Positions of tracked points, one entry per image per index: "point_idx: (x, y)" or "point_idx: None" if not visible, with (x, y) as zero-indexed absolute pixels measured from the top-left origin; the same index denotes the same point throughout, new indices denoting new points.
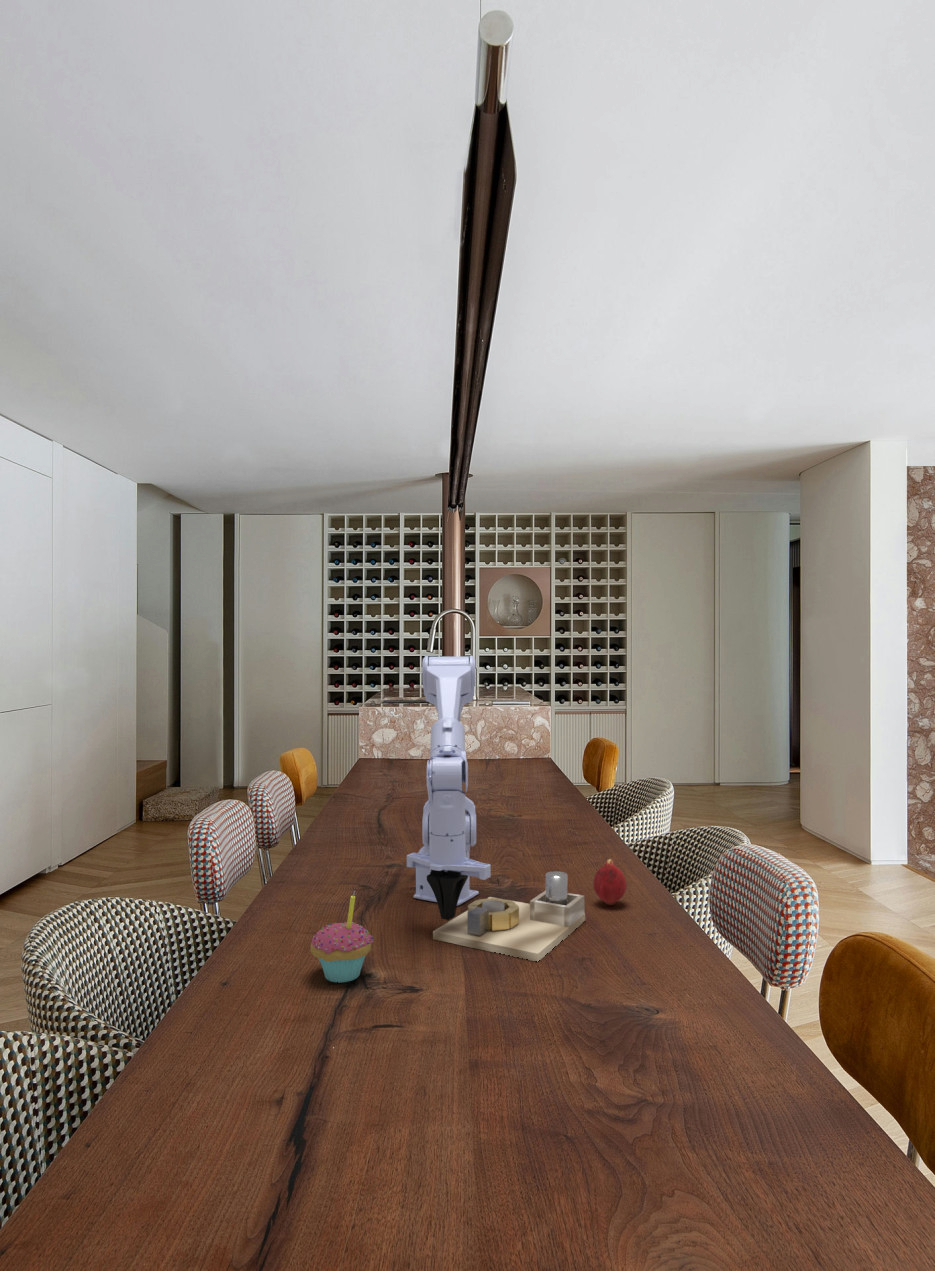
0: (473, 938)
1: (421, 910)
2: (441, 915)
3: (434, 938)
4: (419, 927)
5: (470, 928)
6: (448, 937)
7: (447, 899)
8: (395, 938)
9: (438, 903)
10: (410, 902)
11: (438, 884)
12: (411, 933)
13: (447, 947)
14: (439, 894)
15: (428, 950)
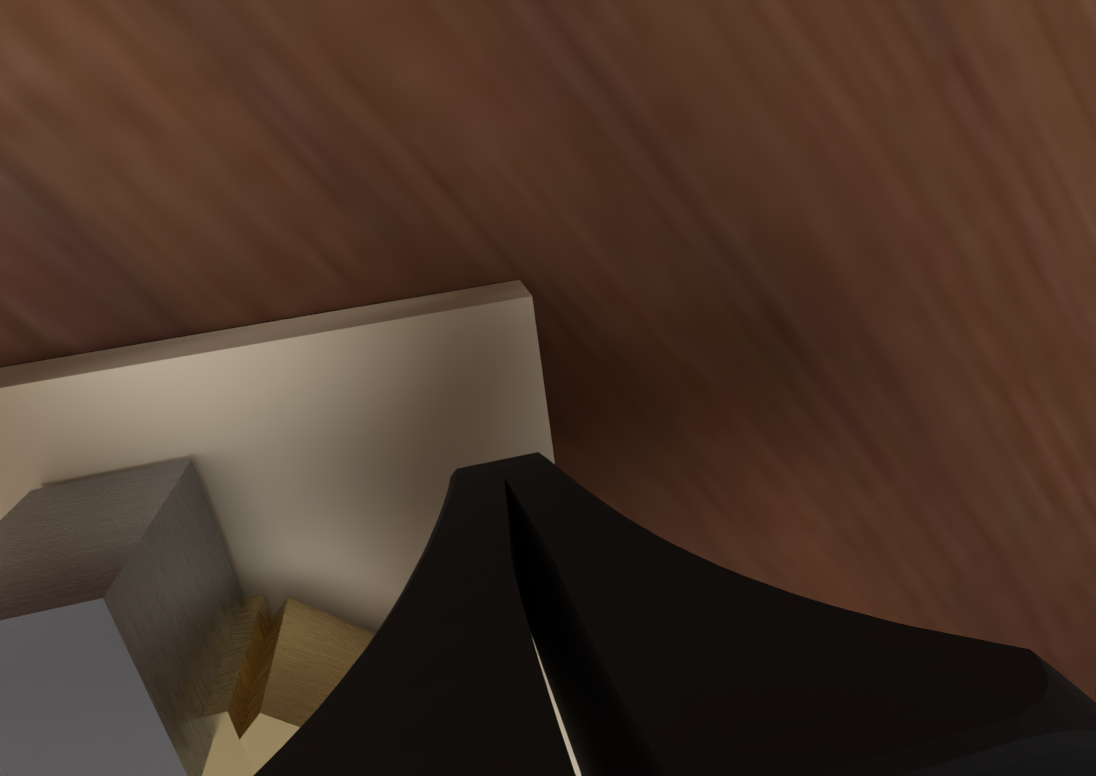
0: (55, 415)
1: (924, 625)
2: (534, 460)
3: (502, 283)
4: (771, 401)
5: (134, 494)
6: (345, 321)
7: (434, 596)
8: (812, 79)
9: (598, 513)
10: (1048, 663)
11: (645, 716)
12: (756, 264)
13: (270, 214)
14: (603, 592)
15: (361, 26)
